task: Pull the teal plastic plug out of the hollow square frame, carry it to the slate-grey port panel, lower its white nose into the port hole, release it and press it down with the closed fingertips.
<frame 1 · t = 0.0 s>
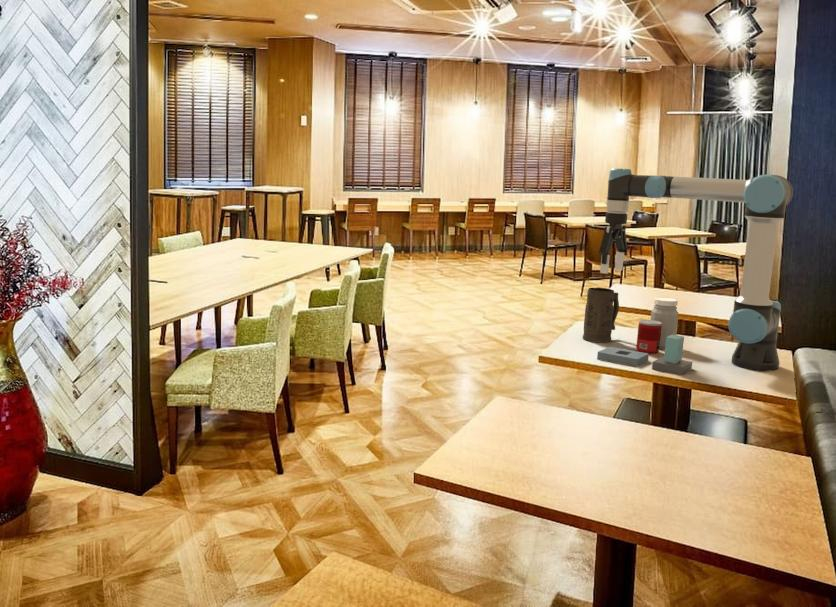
hand: (611, 271, 282), 28 cm above the table, fingers open, 13 cm apart
jar: (661, 347, 293), on the table
beer stein: (600, 339, 301), on the table
canned food: (647, 352, 284), on the table
plug: (673, 353, 259), in the hollow square frame
hollow square frame: (671, 369, 260), on the table
port panel: (622, 359, 269), on the table
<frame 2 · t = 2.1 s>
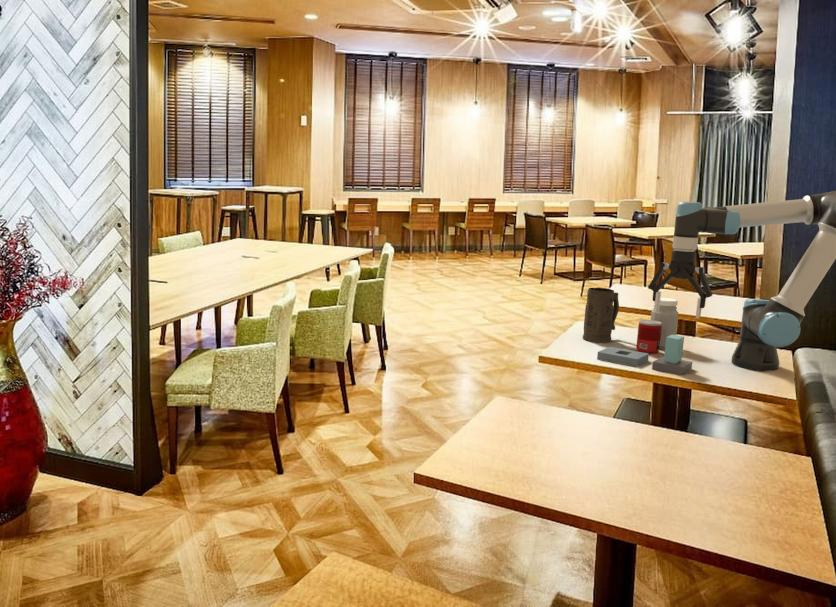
hand: (676, 314, 256), 18 cm above the table, fingers open, 13 cm apart
nothing on the table moved.
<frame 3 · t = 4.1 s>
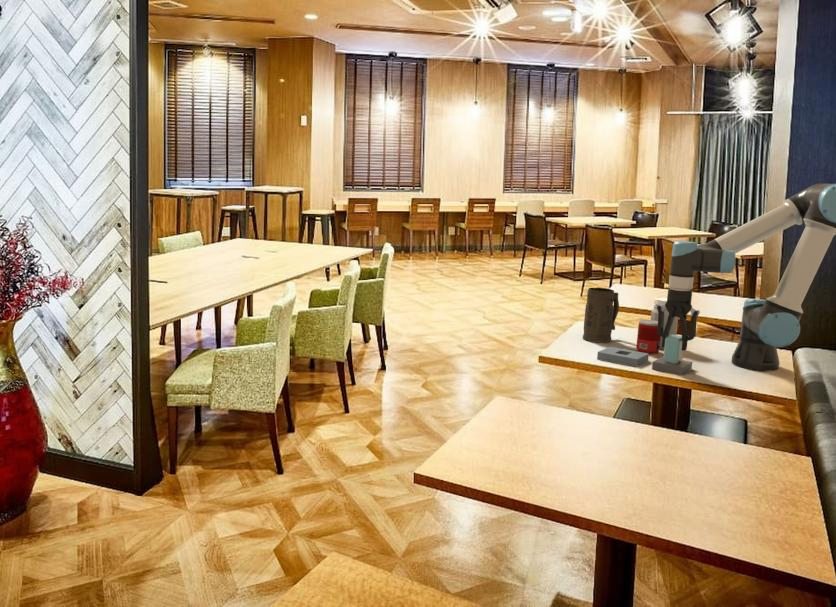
hand: (672, 358, 259), 4 cm above the table, fingers closed on plug, 4 cm apart
plug: (673, 353, 259), in the hollow square frame, touching gripper
everything else where it was.
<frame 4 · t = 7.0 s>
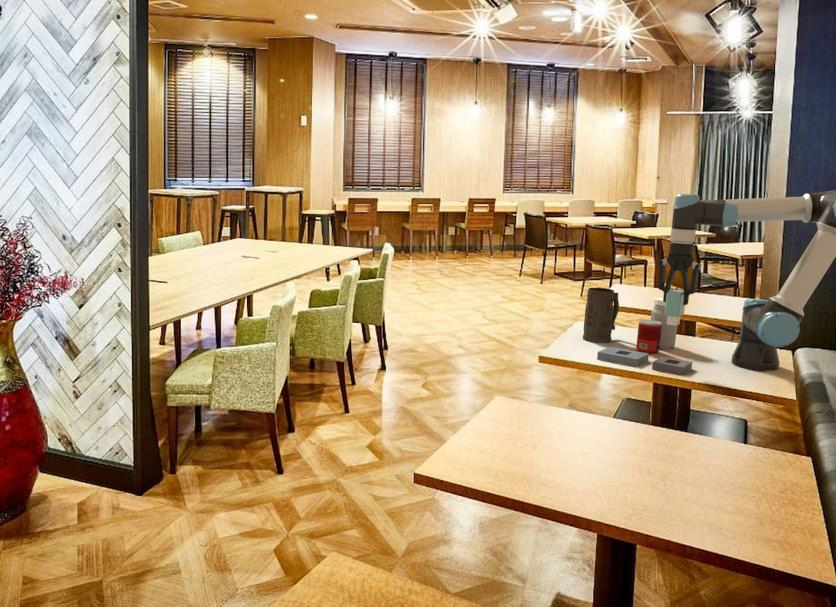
hand: (674, 313, 257), 19 cm above the table, fingers closed on plug, 4 cm apart
plug: (674, 307, 257), point 21 cm above the table, touching gripper
everything else where it was.
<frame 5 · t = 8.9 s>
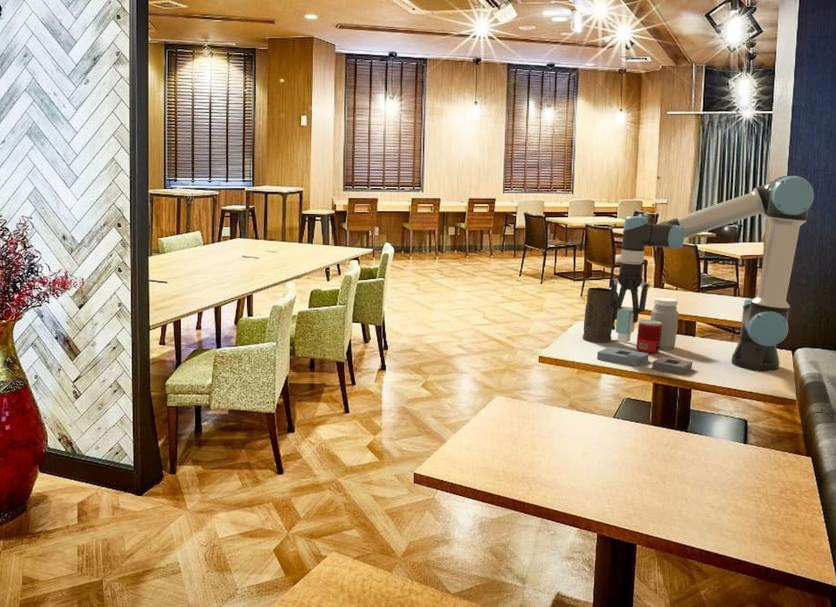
hand: (624, 330, 268), 10 cm above the table, fingers closed on plug, 4 cm apart
plug: (625, 324, 267), point 12 cm above the table, touching gripper
everything else where it was.
when the fingers open (5 cm above the table, at t = 10.3 s): plug drops 1 cm, resting in port panel.
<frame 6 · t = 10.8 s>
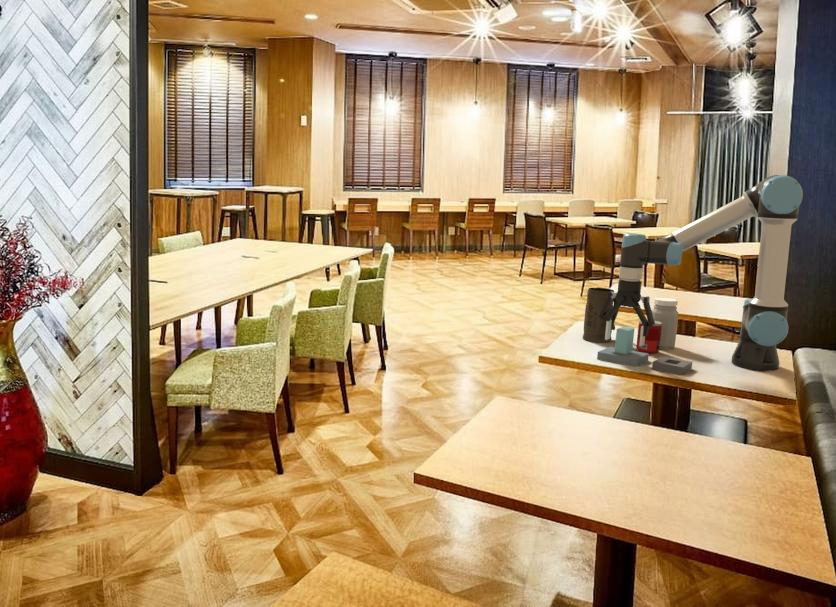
hand: (624, 342, 268), 6 cm above the table, fingers open, 11 cm apart
plug: (624, 344, 268), in the port panel
everything else where it was.
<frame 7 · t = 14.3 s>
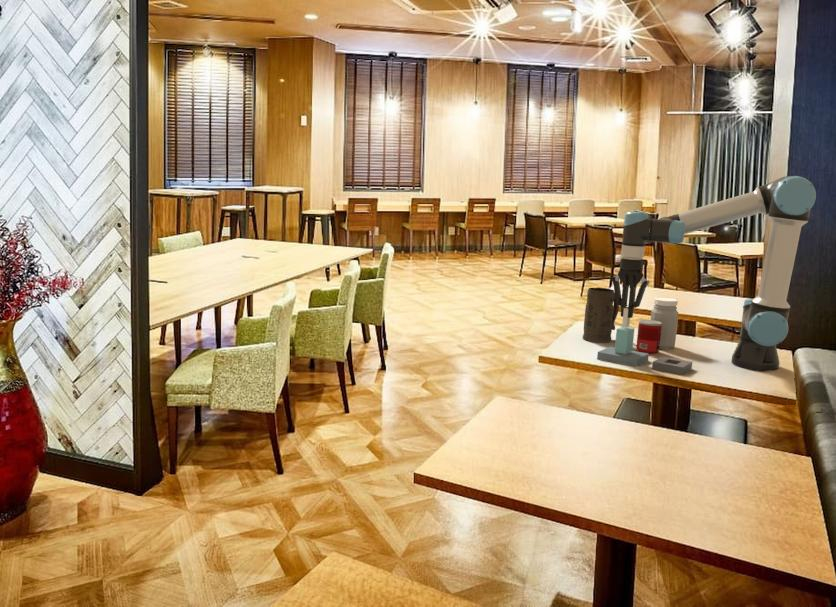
hand: (625, 326, 267), 12 cm above the table, fingers closed
nothing on the table moved.
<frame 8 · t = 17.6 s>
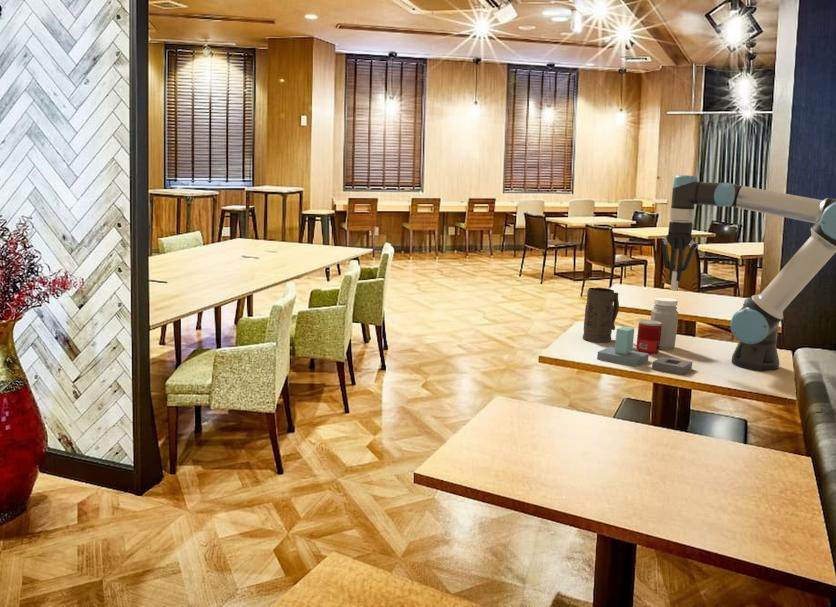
hand: (673, 290, 269), 24 cm above the table, fingers closed
nothing on the table moved.
at the end: plug 0.0 cm off-centre on the port panel, point 5.5 cm above the port panel's base; plug tilted 0°; the gripper is holding nothing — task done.
